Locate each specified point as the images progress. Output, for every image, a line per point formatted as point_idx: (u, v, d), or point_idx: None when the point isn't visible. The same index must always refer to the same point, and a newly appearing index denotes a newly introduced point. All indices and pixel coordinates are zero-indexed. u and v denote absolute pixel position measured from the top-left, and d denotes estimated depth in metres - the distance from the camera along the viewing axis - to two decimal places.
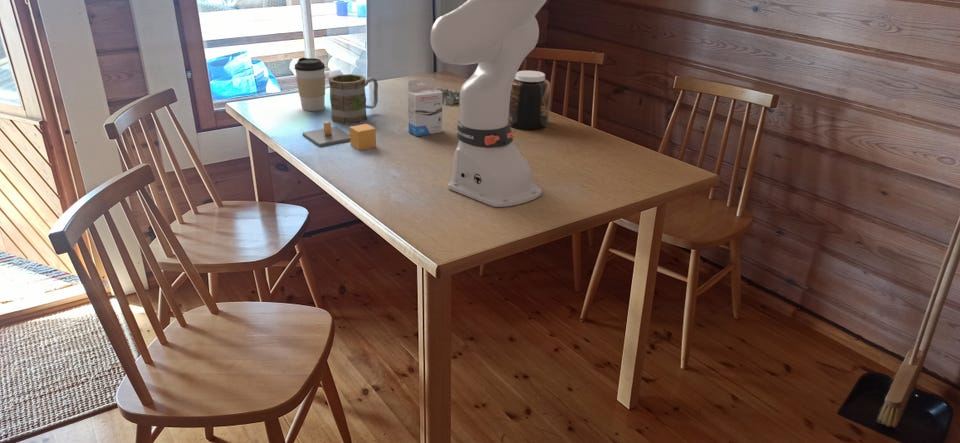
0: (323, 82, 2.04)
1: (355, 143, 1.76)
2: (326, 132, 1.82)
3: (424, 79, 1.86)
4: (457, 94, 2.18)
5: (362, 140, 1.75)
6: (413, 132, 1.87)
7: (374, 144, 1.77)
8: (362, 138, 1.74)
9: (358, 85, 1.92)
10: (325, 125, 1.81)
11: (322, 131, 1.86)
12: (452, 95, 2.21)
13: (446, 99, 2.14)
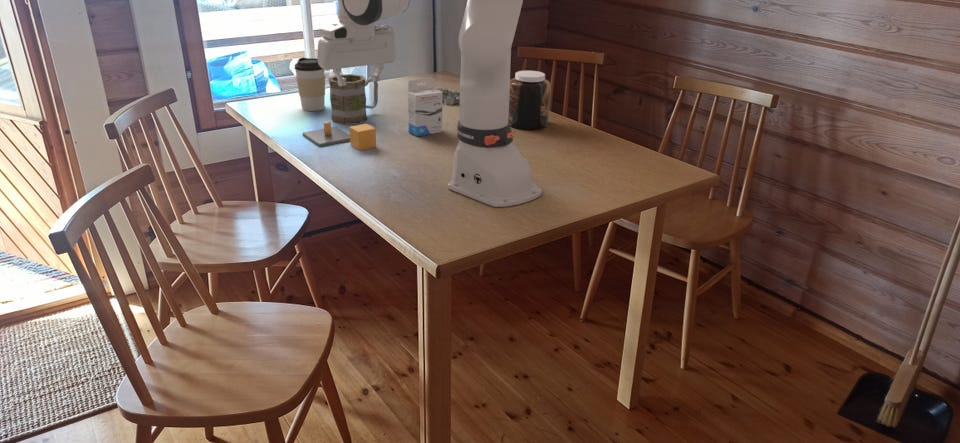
0: (323, 82, 2.04)
1: (355, 143, 1.76)
2: (326, 132, 1.82)
3: (424, 79, 1.86)
4: (457, 94, 2.18)
5: (362, 140, 1.75)
6: (413, 132, 1.87)
7: (374, 144, 1.77)
8: (362, 138, 1.74)
9: (358, 85, 1.92)
10: (325, 125, 1.81)
11: (322, 131, 1.86)
12: (452, 95, 2.21)
13: (446, 99, 2.14)
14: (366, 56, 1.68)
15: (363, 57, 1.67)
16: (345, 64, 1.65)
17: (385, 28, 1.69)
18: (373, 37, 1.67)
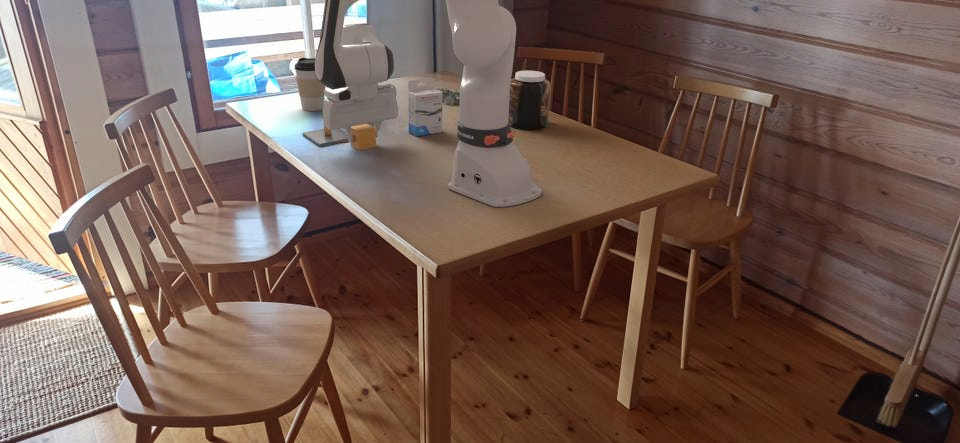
0: None
1: (355, 143, 1.76)
2: (326, 132, 1.82)
3: (424, 79, 1.86)
4: (458, 94, 2.18)
5: (362, 140, 1.75)
6: (413, 132, 1.87)
7: (374, 144, 1.77)
8: (362, 138, 1.74)
9: None
10: None
11: (322, 131, 1.86)
12: (453, 95, 2.21)
13: (446, 99, 2.14)
14: (370, 114, 1.74)
15: (367, 115, 1.74)
16: (349, 124, 1.71)
17: (387, 87, 1.76)
18: (376, 96, 1.73)
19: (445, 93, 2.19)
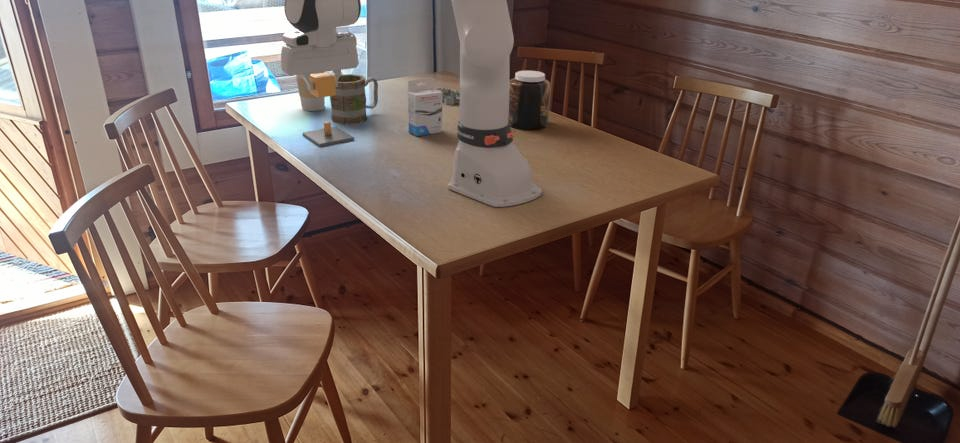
0: None
1: (314, 91, 1.76)
2: (326, 132, 1.82)
3: (424, 79, 1.86)
4: (458, 94, 2.18)
5: (321, 87, 1.74)
6: (413, 132, 1.87)
7: (333, 92, 1.77)
8: (321, 85, 1.74)
9: (358, 85, 1.92)
10: (325, 125, 1.81)
11: (322, 131, 1.86)
12: (454, 95, 2.21)
13: (446, 99, 2.14)
14: (329, 62, 1.74)
15: (326, 63, 1.74)
16: (308, 70, 1.71)
17: (347, 35, 1.76)
18: (335, 44, 1.73)
19: (446, 93, 2.19)
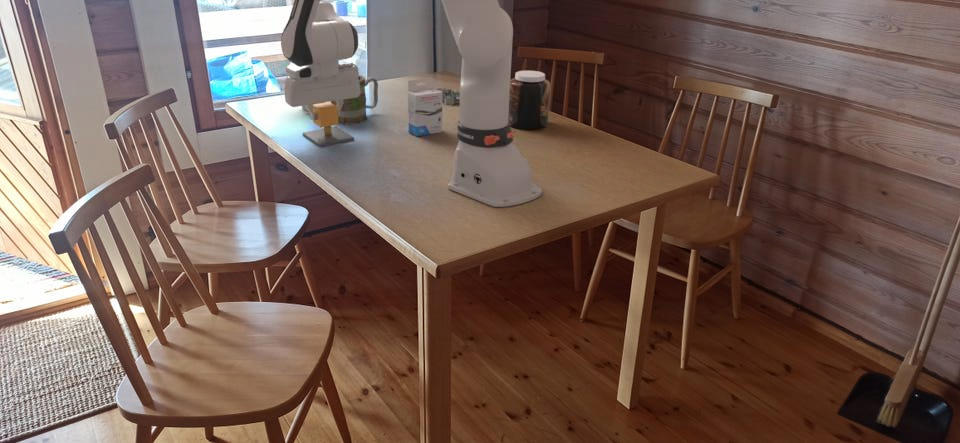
0: None
1: (317, 120, 1.79)
2: (326, 132, 1.82)
3: (424, 79, 1.86)
4: (459, 94, 2.18)
5: (323, 117, 1.78)
6: (413, 132, 1.87)
7: (336, 122, 1.81)
8: (324, 115, 1.78)
9: None
10: None
11: (322, 131, 1.86)
12: (454, 95, 2.21)
13: (446, 99, 2.15)
14: (332, 93, 1.77)
15: (329, 94, 1.77)
16: (311, 101, 1.75)
17: (349, 66, 1.79)
18: (337, 75, 1.77)
19: (446, 93, 2.19)
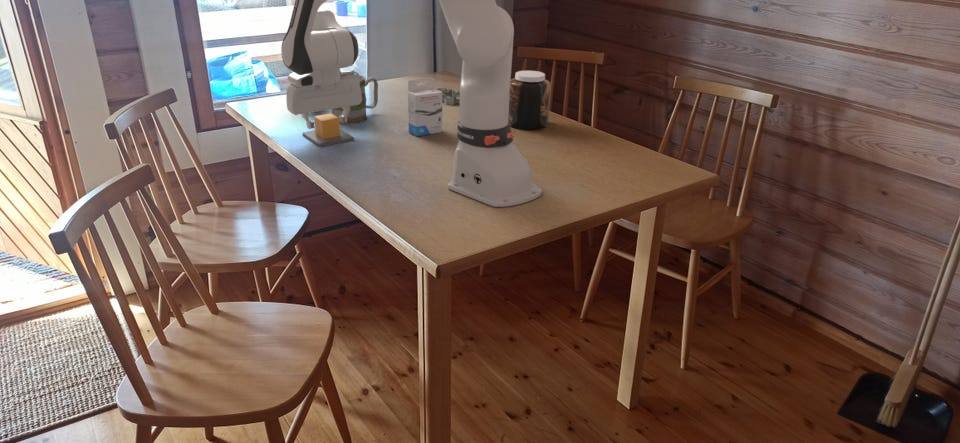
0: None
1: (319, 132, 1.81)
2: None
3: (424, 79, 1.86)
4: (459, 94, 2.18)
5: (325, 129, 1.79)
6: (413, 132, 1.87)
7: (338, 133, 1.82)
8: (326, 127, 1.79)
9: None
10: None
11: None
12: (455, 95, 2.21)
13: (446, 99, 2.15)
14: (333, 100, 1.78)
15: (330, 101, 1.78)
16: (313, 109, 1.76)
17: (350, 73, 1.80)
18: (339, 82, 1.78)
19: (447, 93, 2.19)
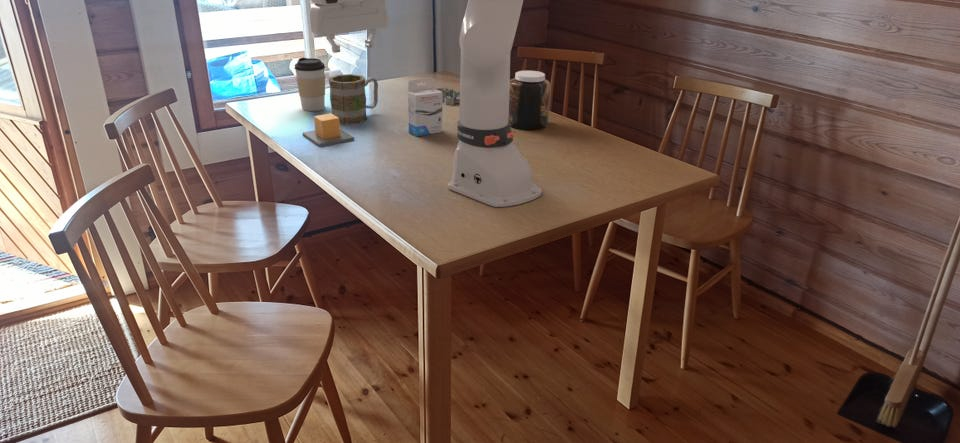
0: (323, 82, 2.04)
1: (319, 132, 1.81)
2: None
3: (424, 79, 1.86)
4: (459, 94, 2.18)
5: (325, 129, 1.79)
6: (413, 132, 1.87)
7: (338, 133, 1.82)
8: (326, 127, 1.79)
9: (358, 85, 1.92)
10: None
11: None
12: (456, 95, 2.21)
13: (446, 99, 2.15)
14: (359, 21, 1.69)
15: (356, 22, 1.69)
16: (338, 30, 1.67)
17: None
18: (364, 2, 1.69)
19: (447, 93, 2.19)
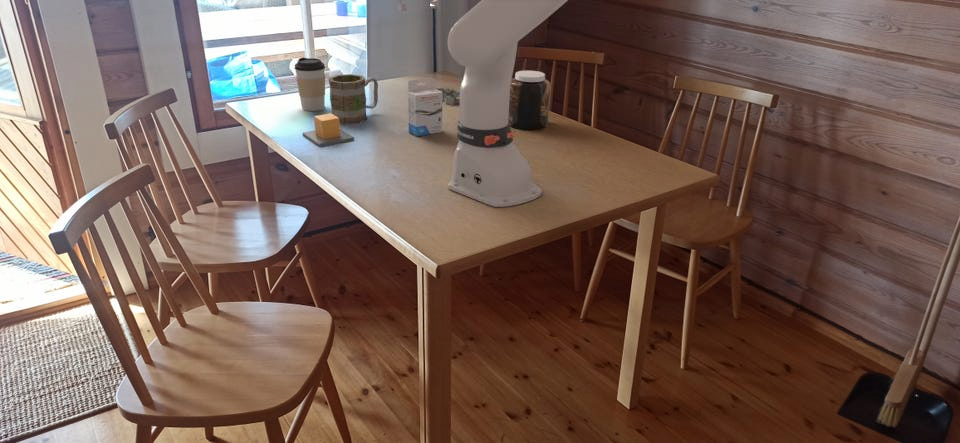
0: (323, 82, 2.04)
1: (319, 132, 1.81)
2: None
3: (424, 79, 1.86)
4: None
5: (325, 129, 1.79)
6: (413, 132, 1.87)
7: (338, 133, 1.82)
8: (326, 127, 1.79)
9: (358, 85, 1.92)
10: None
11: None
12: (457, 95, 2.21)
13: (446, 99, 2.15)
14: None
15: None
16: None
17: None
18: None
19: (448, 93, 2.19)
